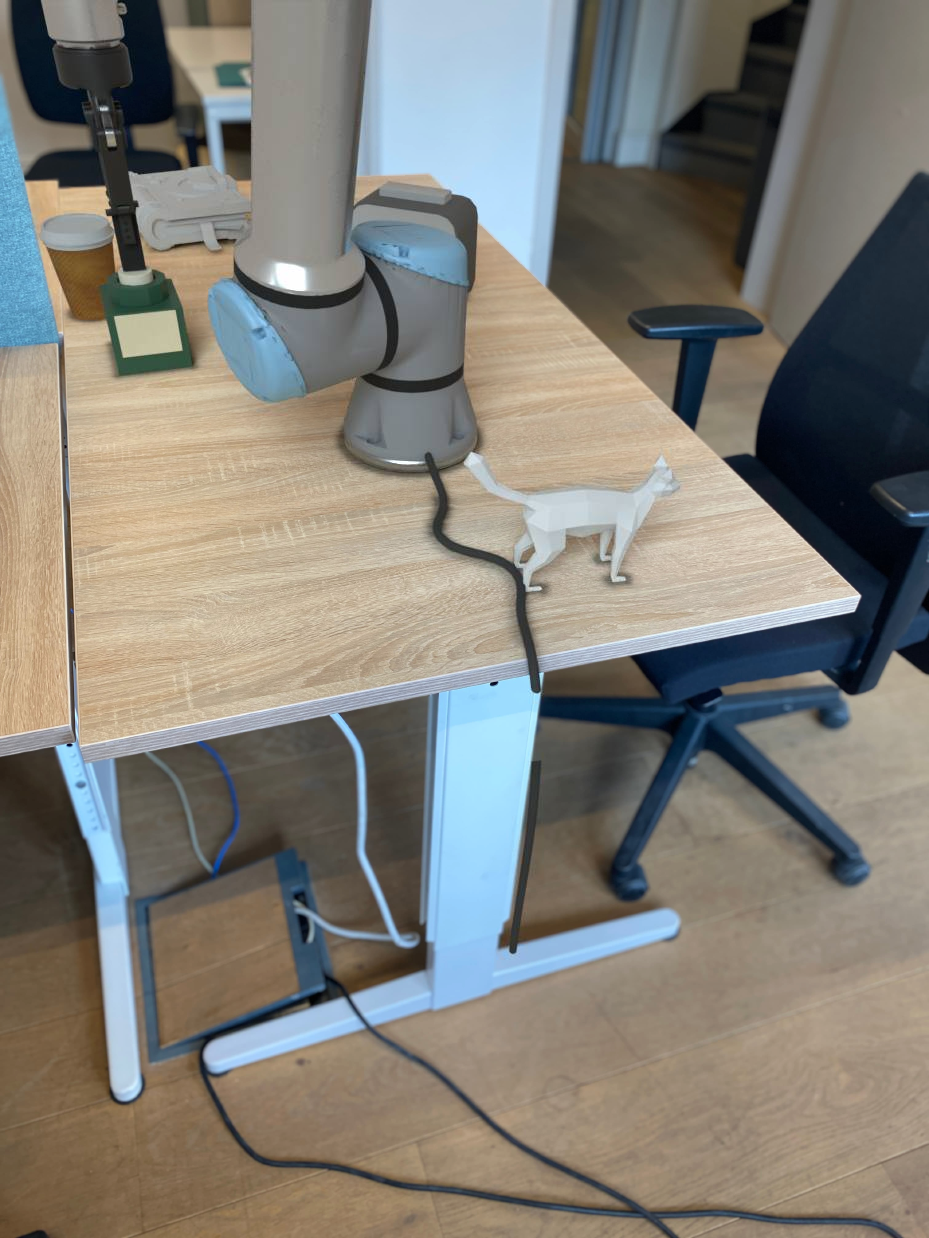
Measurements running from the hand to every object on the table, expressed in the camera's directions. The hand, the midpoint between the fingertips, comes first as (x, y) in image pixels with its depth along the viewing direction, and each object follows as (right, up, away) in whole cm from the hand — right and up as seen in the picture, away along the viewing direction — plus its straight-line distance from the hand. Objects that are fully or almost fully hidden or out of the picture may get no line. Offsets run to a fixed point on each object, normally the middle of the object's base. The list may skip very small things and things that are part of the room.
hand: (134, 268), depth 110 cm
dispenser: (0, -9, +7) cm, 11 cm away
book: (-7, +24, +45) cm, 51 cm away
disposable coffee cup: (-12, 0, +17) cm, 21 cm away
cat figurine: (+50, -39, -25) cm, 68 cm away
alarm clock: (+33, +5, +26) cm, 42 cm away
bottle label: (+2, -10, +2) cm, 10 cm away
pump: (0, -2, +2) cm, 3 cm away
